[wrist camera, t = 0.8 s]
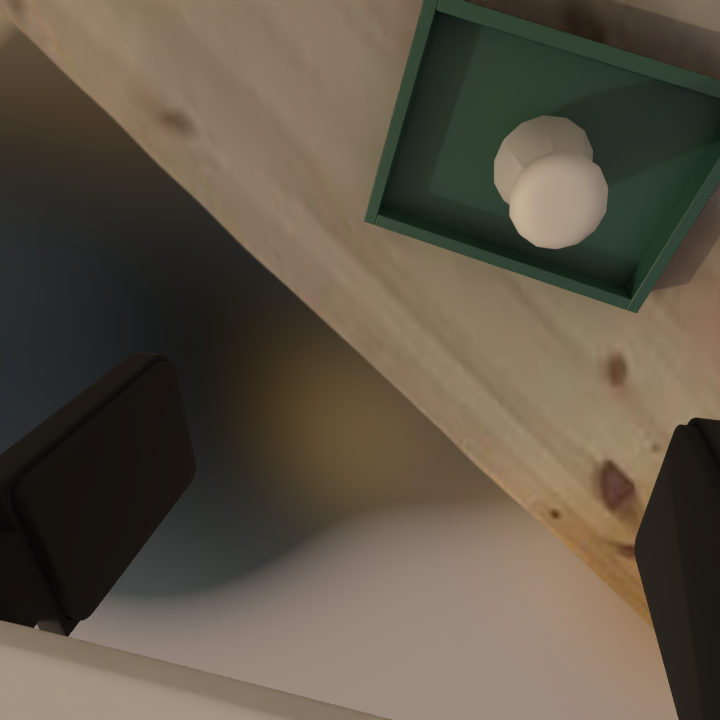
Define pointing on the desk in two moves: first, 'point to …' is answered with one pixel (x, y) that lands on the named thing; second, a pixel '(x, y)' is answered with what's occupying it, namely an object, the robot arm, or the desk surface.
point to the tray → (531, 100)
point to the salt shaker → (551, 182)
